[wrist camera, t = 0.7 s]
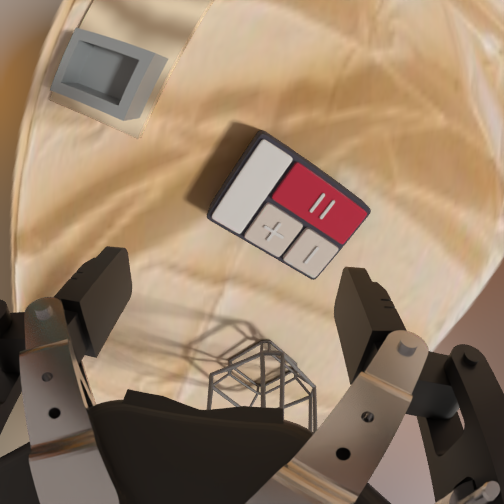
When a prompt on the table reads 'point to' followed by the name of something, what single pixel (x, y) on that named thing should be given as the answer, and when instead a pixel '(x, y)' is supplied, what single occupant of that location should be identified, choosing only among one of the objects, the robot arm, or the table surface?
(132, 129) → the beige mat
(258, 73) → the table surface
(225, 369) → the geometric lantern
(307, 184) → the calculator
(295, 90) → the table surface
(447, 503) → the robot arm
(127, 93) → the end holder
